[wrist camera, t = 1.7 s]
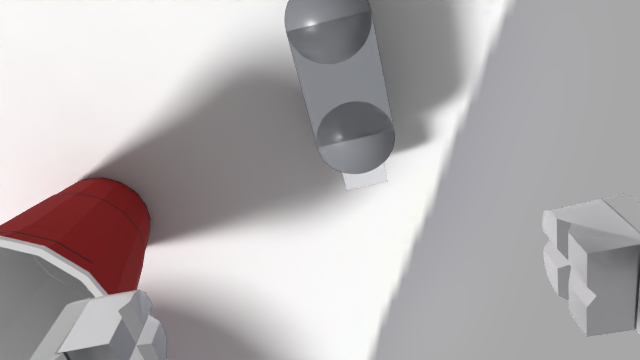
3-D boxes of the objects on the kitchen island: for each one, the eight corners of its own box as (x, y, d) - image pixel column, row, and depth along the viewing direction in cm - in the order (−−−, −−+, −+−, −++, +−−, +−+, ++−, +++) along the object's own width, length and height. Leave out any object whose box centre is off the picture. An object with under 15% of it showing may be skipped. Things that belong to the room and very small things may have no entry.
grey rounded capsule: (355, -42, 26) (361, -37, 22) (395, 157, 31) (406, 191, 27) (281, -22, 27) (274, -13, 23) (332, 171, 32) (333, 206, 28)
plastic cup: (187, 142, 31) (114, 258, 20) (192, 284, 36) (136, 438, 25) (6, 128, 30) (-167, 238, 20) (36, 273, 35) (-90, 425, 24)
